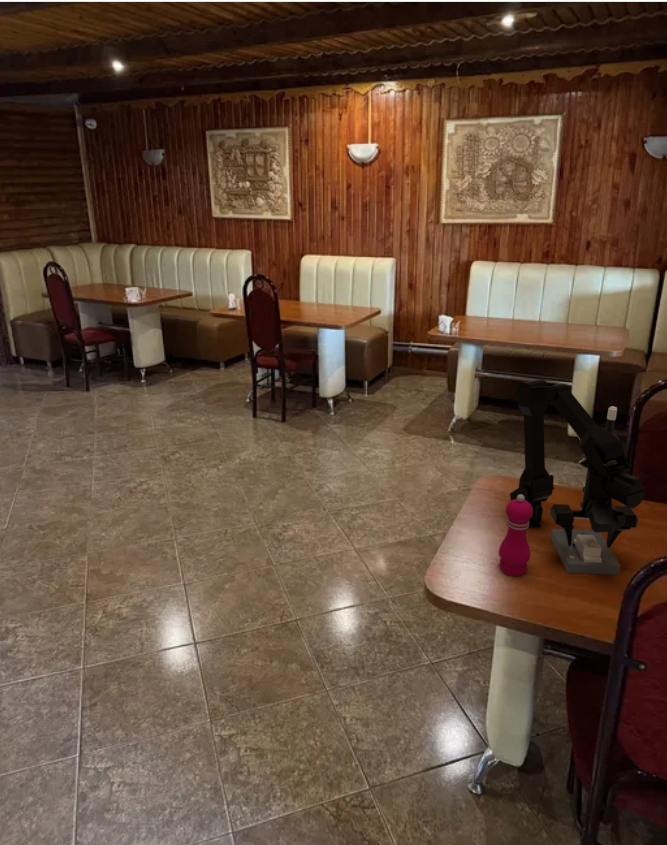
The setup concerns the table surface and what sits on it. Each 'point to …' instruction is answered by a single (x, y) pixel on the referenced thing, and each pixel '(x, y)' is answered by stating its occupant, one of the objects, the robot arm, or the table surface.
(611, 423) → the wine bottle
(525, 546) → the pepper mill
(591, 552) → the servo
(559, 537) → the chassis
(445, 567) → the table surface
